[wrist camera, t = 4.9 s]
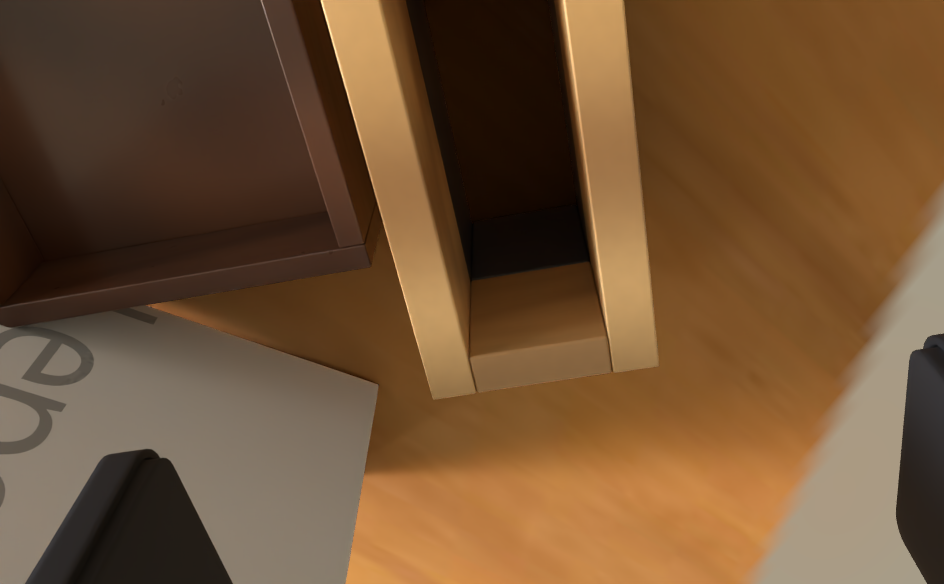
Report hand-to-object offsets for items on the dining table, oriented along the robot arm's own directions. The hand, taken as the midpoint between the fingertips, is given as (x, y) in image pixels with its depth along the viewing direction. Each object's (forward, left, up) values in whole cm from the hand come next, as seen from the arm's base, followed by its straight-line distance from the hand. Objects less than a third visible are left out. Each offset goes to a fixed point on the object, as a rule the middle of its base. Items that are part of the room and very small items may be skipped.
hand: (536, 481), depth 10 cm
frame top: (0, 0, -13) cm, 13 cm away
